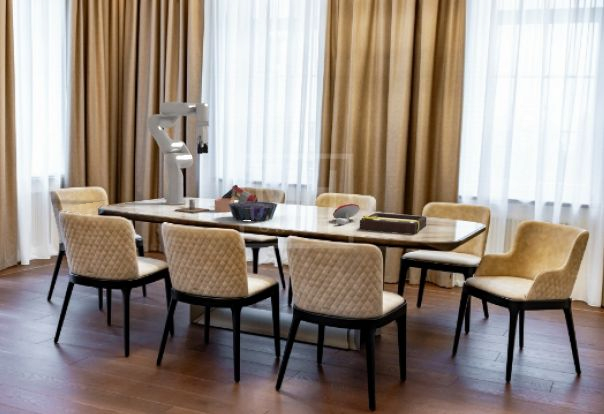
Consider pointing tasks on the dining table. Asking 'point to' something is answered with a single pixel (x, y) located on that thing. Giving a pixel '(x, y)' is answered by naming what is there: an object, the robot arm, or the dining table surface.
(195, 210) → the walnut lid
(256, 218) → the decorative bowl
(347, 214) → the mushroom
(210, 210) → the charcoal tray
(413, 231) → the dark brown open box
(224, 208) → the terracotta pot
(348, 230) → the dining table surface
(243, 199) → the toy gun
